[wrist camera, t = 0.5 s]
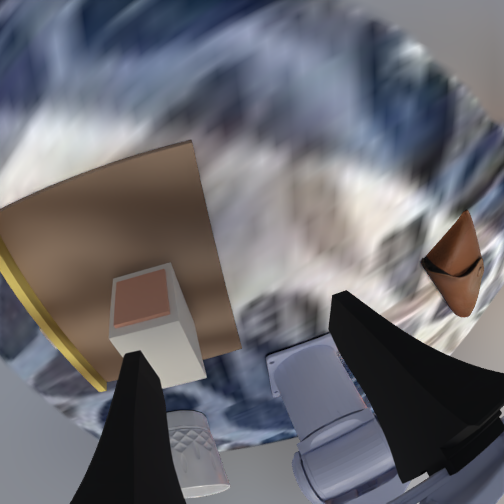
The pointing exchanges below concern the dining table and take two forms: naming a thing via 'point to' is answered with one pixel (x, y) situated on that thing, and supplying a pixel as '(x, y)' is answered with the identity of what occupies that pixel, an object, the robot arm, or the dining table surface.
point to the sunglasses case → (457, 266)
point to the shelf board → (115, 254)
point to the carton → (156, 324)
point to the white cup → (195, 455)
